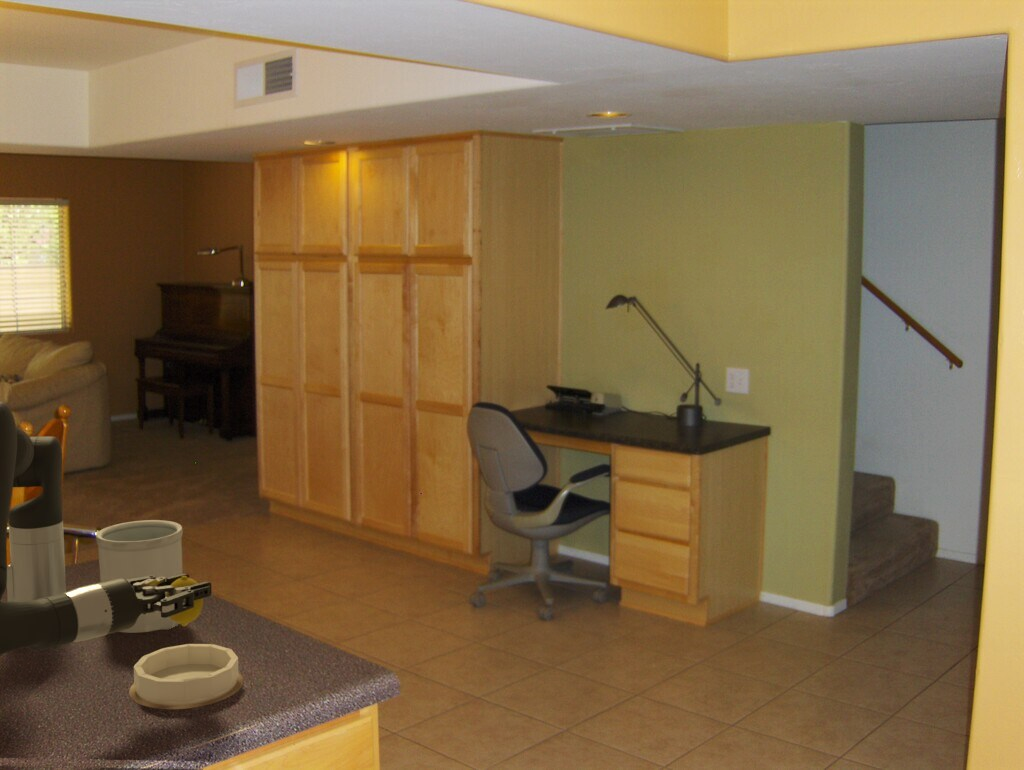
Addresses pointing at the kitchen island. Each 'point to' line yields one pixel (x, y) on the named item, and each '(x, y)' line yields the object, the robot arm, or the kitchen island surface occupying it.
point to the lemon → (190, 613)
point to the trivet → (134, 697)
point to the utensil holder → (141, 559)
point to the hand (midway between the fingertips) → (198, 584)
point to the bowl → (186, 674)
